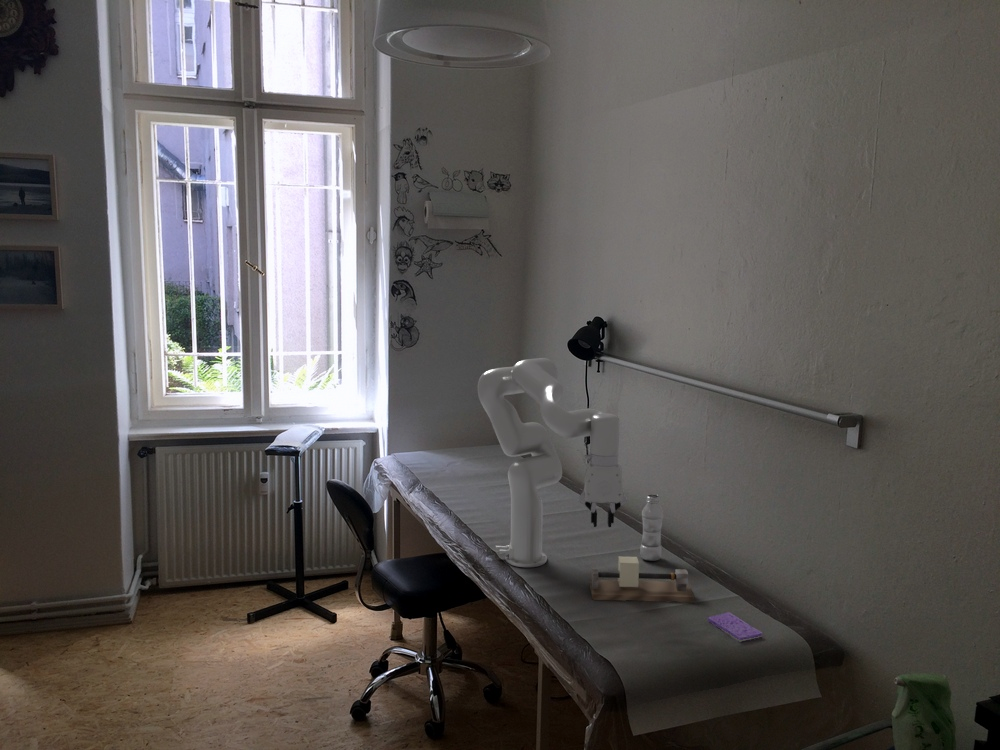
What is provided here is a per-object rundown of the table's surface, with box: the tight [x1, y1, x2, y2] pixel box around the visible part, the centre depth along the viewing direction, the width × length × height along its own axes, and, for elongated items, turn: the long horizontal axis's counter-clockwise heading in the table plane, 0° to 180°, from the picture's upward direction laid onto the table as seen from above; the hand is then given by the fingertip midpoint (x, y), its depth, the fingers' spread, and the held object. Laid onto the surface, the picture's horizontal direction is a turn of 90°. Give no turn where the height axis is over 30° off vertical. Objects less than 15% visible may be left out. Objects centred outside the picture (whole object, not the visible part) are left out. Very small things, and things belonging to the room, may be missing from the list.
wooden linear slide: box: [589, 568, 695, 603], centre depth 217 cm, size 27×10×6 cm, turn 88°
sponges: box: [707, 611, 763, 640], centre depth 197 cm, size 7×13×2 cm, turn 23°
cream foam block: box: [617, 556, 640, 587], centre depth 217 cm, size 5×5×7 cm
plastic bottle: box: [639, 494, 664, 562], centre depth 241 cm, size 6×7×20 cm
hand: (602, 524), depth 215 cm, fingers open, 3 cm apart
